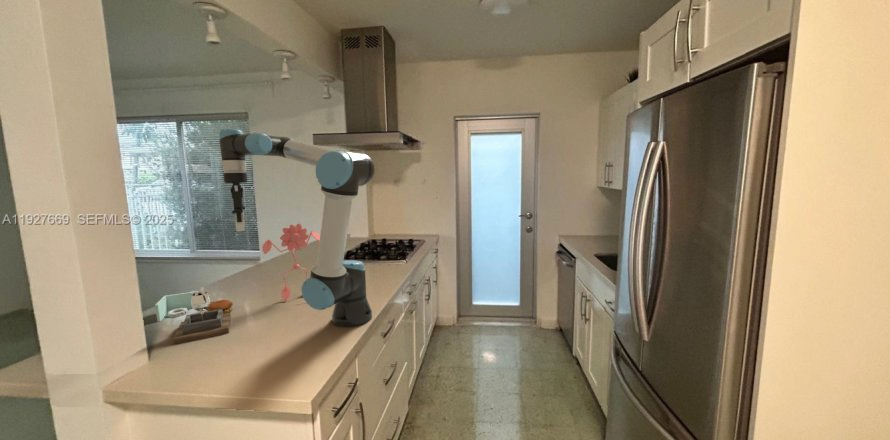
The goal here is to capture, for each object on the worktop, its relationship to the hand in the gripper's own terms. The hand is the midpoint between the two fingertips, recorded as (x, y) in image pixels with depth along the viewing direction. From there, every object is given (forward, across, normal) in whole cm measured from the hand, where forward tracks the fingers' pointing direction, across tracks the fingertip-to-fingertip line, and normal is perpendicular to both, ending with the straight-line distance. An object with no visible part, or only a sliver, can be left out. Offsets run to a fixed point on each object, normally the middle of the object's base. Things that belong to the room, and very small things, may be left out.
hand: (240, 228), depth 133 cm
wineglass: (+35, 0, -15) cm, 38 cm away
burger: (+37, -17, -11) cm, 42 cm away
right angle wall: (+38, -25, -26) cm, 52 cm away
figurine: (+37, -15, +20) cm, 45 cm away
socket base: (+37, 0, -15) cm, 40 cm away
